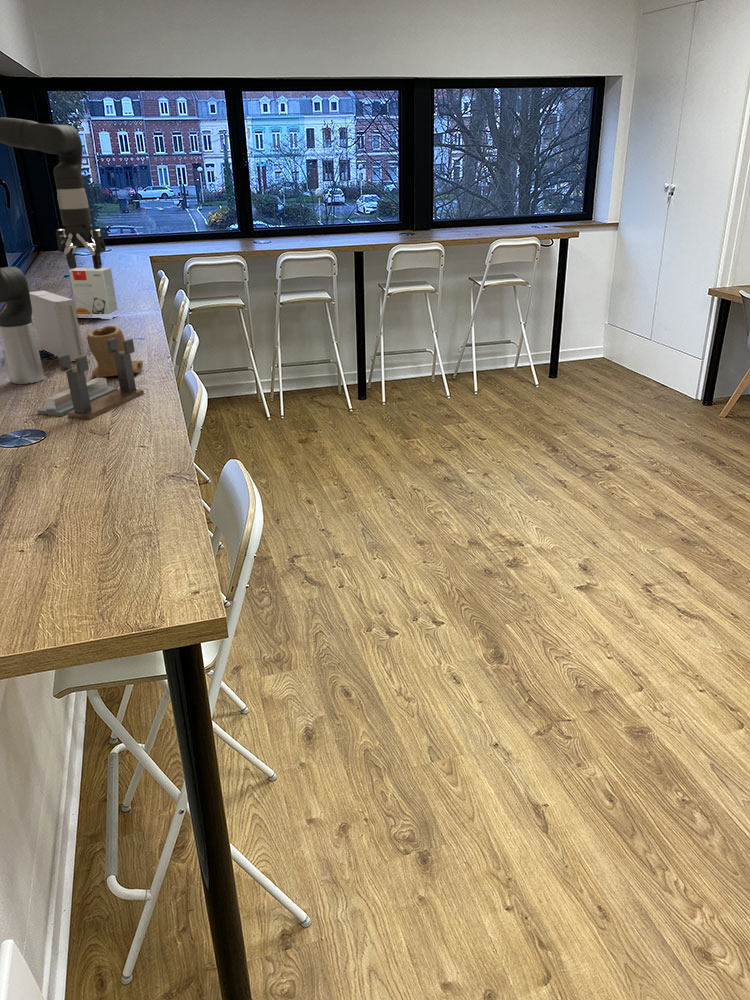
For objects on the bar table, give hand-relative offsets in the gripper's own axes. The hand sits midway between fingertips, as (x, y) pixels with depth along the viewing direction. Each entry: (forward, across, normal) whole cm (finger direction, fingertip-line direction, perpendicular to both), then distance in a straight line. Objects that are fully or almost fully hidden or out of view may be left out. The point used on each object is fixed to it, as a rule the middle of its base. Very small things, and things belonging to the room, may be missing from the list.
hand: (85, 268), depth 210 cm
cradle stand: (+33, -14, +18) cm, 40 cm away
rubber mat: (+33, -5, +18) cm, 38 cm away
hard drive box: (+33, +69, -82) cm, 112 cm away
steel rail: (+32, -5, +18) cm, 37 cm away
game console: (+33, +39, -25) cm, 57 cm away
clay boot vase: (+33, +2, -8) cm, 34 cm away
